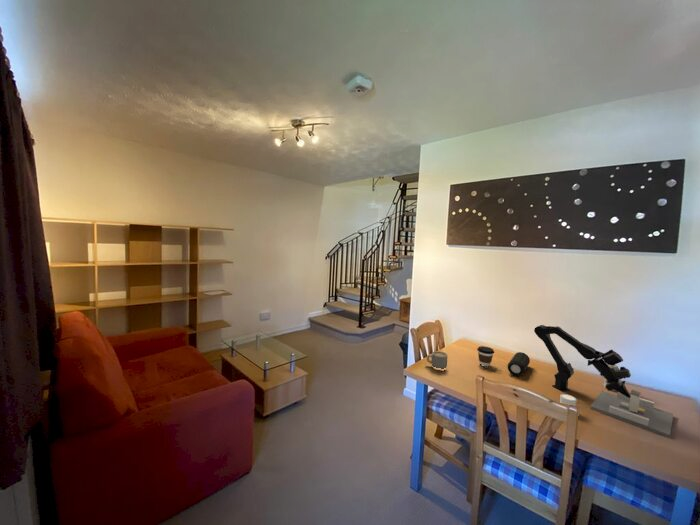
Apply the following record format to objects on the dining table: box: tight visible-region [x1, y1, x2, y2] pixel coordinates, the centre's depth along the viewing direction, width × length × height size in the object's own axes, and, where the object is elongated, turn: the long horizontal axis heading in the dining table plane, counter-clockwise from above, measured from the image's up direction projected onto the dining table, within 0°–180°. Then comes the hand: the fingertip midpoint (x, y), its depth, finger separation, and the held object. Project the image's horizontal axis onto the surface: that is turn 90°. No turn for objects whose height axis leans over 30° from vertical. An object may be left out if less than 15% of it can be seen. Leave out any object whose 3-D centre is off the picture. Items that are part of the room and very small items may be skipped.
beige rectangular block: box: [629, 389, 642, 413], centre depth 148 cm, size 3×5×9 cm, turn 129°
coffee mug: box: [426, 350, 448, 369], centre depth 196 cm, size 13×10×10 cm
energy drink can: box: [603, 363, 620, 392], centre depth 173 cm, size 6×6×15 cm
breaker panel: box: [590, 390, 674, 439], centre depth 149 cm, size 28×27×4 cm
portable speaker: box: [507, 351, 531, 377], centre depth 195 cm, size 26×10×10 cm, turn 140°
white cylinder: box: [559, 393, 577, 407], centre depth 149 cm, size 7×7×7 cm
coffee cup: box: [477, 345, 495, 367], centre depth 202 cm, size 11×11×12 cm
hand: (630, 397), depth 149 cm, fingers closed, pressing on beige rectangular block
